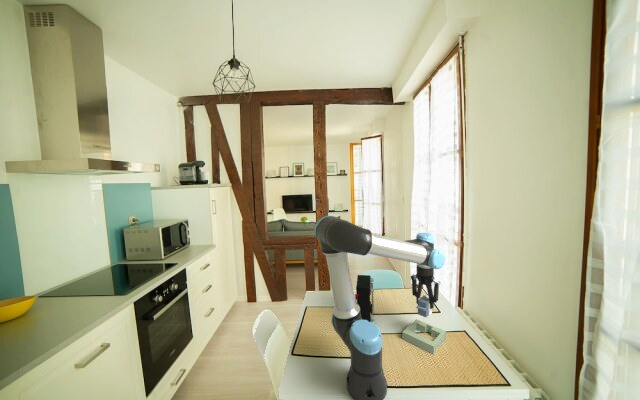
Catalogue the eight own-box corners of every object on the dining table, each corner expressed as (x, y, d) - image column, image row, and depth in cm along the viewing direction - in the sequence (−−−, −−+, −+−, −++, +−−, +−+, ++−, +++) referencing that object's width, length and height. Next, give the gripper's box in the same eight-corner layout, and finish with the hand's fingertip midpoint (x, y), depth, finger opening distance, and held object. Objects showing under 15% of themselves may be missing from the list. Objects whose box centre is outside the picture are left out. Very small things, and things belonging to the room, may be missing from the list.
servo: (424, 318, 113) (424, 303, 112) (416, 315, 116) (416, 300, 115) (433, 309, 120) (433, 294, 120) (425, 306, 123) (425, 292, 122)
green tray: (433, 354, 108) (433, 346, 108) (402, 338, 119) (402, 331, 119) (446, 338, 119) (446, 331, 118) (416, 325, 130) (416, 319, 129)
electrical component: (374, 324, 132) (374, 288, 130) (355, 322, 134) (354, 287, 132) (373, 307, 149) (373, 275, 147) (357, 305, 151) (356, 274, 149)
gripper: (447, 267, 112) (446, 316, 114) (411, 259, 124) (411, 303, 127) (440, 272, 107) (440, 322, 109) (404, 263, 119) (404, 308, 121)
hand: (424, 312), depth 118 cm, fingers closed on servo, 4 cm apart
